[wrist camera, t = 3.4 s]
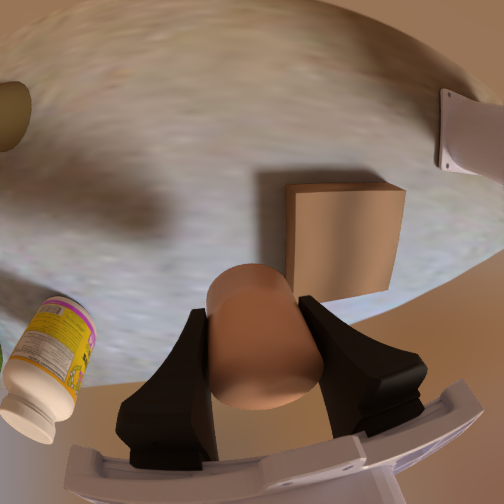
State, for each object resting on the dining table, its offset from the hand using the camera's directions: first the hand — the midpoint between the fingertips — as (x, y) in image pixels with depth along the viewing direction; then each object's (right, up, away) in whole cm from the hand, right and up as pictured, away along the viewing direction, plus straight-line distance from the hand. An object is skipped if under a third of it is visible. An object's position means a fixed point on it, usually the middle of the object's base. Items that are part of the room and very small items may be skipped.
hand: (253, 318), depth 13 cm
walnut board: (+7, +5, +8) cm, 12 cm away
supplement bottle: (-18, -3, +8) cm, 20 cm away
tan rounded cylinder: (0, +1, +1) cm, 2 cm away
